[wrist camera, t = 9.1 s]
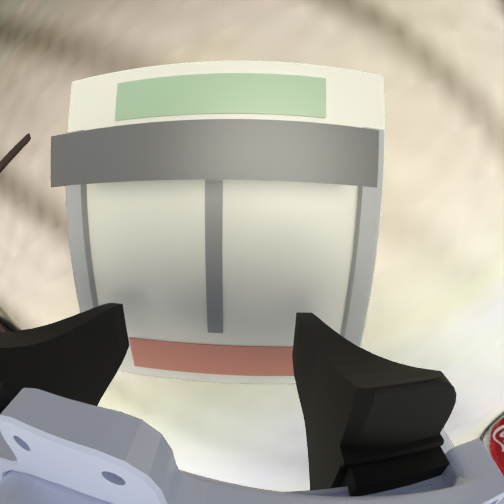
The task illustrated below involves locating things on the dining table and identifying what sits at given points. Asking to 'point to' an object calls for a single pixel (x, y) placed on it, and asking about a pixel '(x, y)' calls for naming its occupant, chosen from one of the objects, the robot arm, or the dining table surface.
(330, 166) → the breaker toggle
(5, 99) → the dining table surface
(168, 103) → the panel
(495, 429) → the soda can
